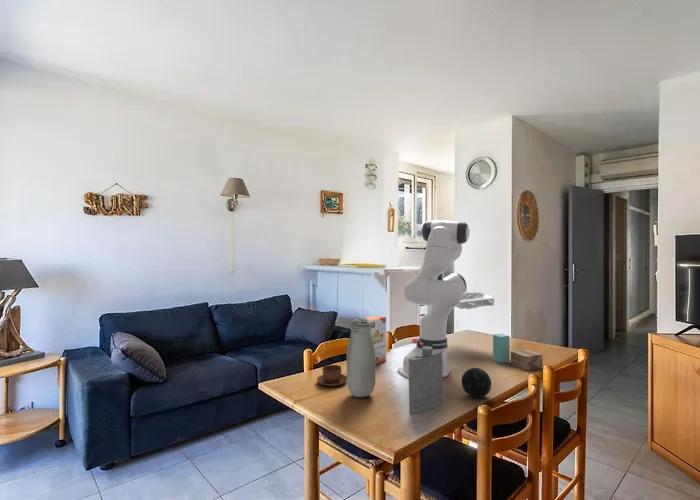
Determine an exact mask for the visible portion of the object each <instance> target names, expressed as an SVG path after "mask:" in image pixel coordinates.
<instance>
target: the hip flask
mask: <svg viewBox="0 0 700 500" xmlns="http://www.w3.org/2000/svg"><path fill="white" fill-rule="evenodd" d="M408 390H409V391H408V398H409V399H408V401H409V402H408V403H409V405H408V409H409V410H408V411H409V414H412V415H419V414H421V413H424V412H427V411H430V410H432V409H434V408H436V407H437V406H439V405H440V404H442V403H443V400H444V399H443V377H442V351H441V350H433V348H432V347H428V346H425V347H422V354H419V355H416V356H414V357H409V378H408Z"/></svg>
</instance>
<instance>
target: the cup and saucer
mask: <svg viewBox="0 0 700 500" xmlns="http://www.w3.org/2000/svg"><path fill="white" fill-rule="evenodd" d="M316 381H317V382H318V383H319V384H320V385H322V386H326V387H337V386H341V385H343V384H344V383H347V375H345V374H342V366H340V365H336V364H330V365H329V364H327V365H325V366H322V375H319V376H318V377H317V379H316Z"/></svg>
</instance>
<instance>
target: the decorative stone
mask: <svg viewBox="0 0 700 500" xmlns="http://www.w3.org/2000/svg"><path fill="white" fill-rule="evenodd" d="M461 386H462V389H463V390H464V392H465V393H466V394H467V395H469V396H470V397H472V398H477V399H480V398H483V397H486V396H487V395H489V392H490V391H491V390H492V379H491V377H490V375H489V374H488V373H487V371H485V370H483V369H482V368H479V367H471V368H468V369H466V371H464V373H463V374H462V375H461Z"/></svg>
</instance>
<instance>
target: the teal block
mask: <svg viewBox="0 0 700 500" xmlns="http://www.w3.org/2000/svg"><path fill="white" fill-rule="evenodd" d="M492 354H493V355H492V357H493V358H492V360H493V361H494V362H497V363H500V364H504V363H511V351H510V335H508V334H504V333H495V334H493V335H492Z"/></svg>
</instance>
